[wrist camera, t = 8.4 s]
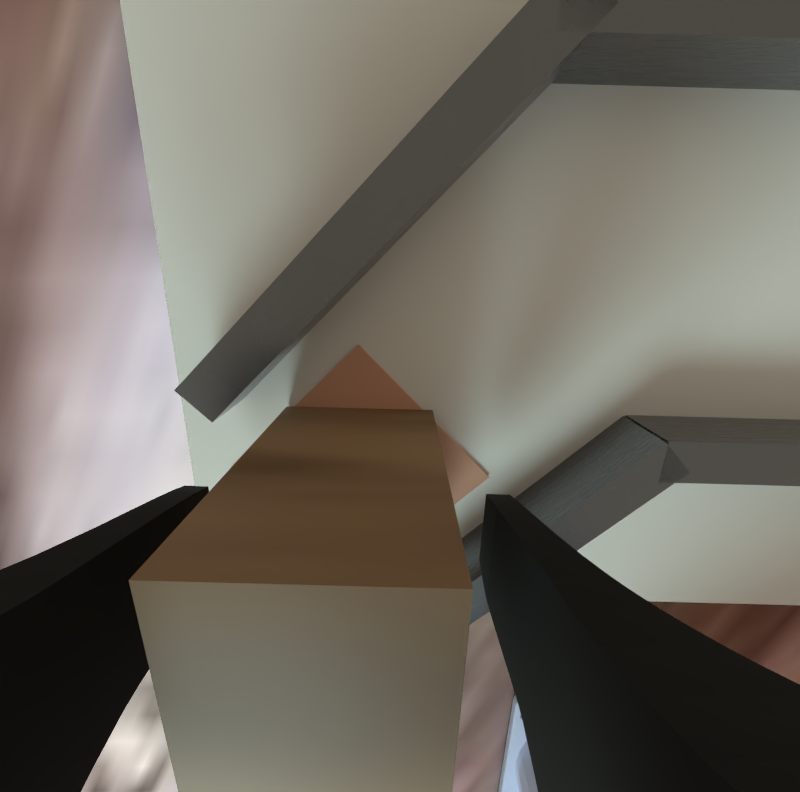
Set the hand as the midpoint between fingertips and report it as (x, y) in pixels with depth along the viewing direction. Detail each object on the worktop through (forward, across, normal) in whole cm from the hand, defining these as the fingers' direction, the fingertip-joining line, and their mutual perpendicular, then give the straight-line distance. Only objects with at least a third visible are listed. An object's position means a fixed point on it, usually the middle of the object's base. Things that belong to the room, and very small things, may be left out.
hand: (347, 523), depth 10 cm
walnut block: (+3, 0, 0) cm, 3 cm away
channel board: (+3, -8, -4) cm, 10 cm away
